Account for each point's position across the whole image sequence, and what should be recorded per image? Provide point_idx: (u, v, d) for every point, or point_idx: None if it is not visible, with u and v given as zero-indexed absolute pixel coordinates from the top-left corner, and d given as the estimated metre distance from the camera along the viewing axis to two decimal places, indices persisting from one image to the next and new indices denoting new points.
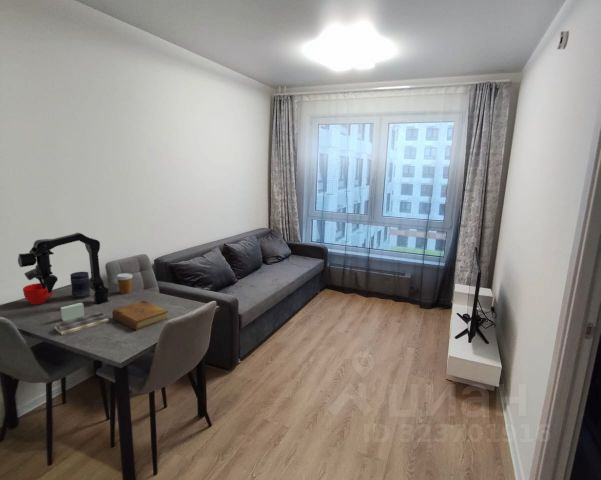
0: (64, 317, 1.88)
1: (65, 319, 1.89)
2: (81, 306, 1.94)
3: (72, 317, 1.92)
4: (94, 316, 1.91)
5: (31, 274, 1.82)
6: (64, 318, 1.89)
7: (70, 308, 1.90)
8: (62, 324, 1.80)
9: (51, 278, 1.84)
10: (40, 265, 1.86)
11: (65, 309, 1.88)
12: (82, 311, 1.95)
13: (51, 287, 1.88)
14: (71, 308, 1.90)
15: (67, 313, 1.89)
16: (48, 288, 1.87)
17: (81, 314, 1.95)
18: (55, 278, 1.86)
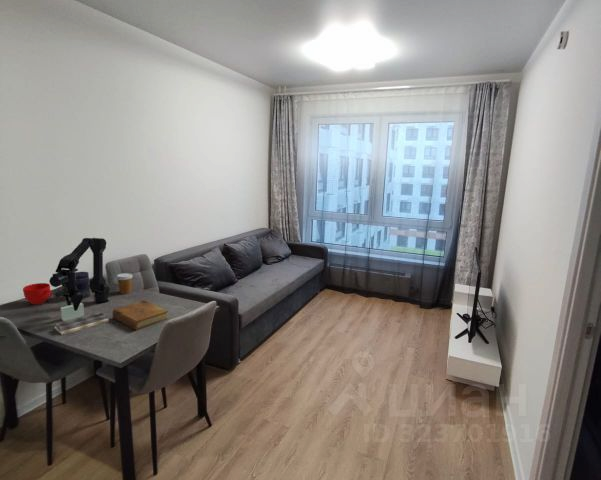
0: (64, 317, 1.88)
1: (65, 319, 1.89)
2: (81, 306, 1.94)
3: (72, 317, 1.92)
4: (94, 316, 1.91)
5: (58, 292, 1.82)
6: (64, 318, 1.89)
7: (70, 308, 1.90)
8: (62, 324, 1.80)
9: (78, 296, 1.85)
10: (67, 283, 1.86)
11: (65, 309, 1.88)
12: (82, 311, 1.95)
13: (77, 305, 1.89)
14: (71, 308, 1.90)
15: (67, 313, 1.89)
16: (74, 306, 1.88)
17: (81, 314, 1.95)
18: (82, 296, 1.86)
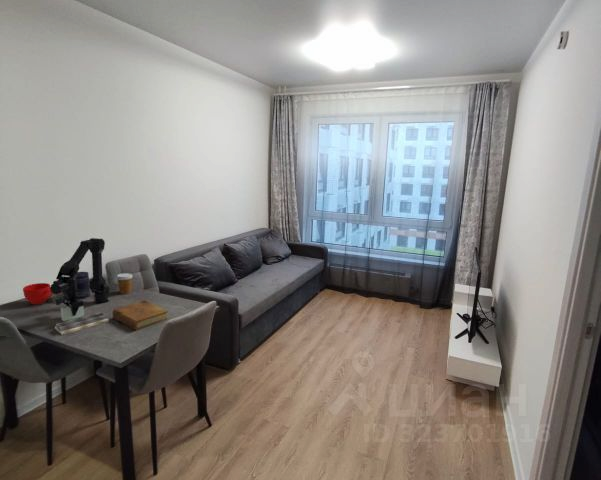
0: (64, 317, 1.88)
1: (65, 319, 1.89)
2: (81, 306, 1.94)
3: (72, 317, 1.91)
4: (94, 316, 1.91)
5: (59, 299, 1.83)
6: (64, 318, 1.88)
7: (70, 308, 1.90)
8: (62, 324, 1.80)
9: (78, 303, 1.86)
10: (67, 290, 1.87)
11: (65, 309, 1.88)
12: (82, 311, 1.95)
13: (76, 310, 1.91)
14: None
15: (67, 312, 1.89)
16: (73, 311, 1.90)
17: (81, 314, 1.95)
18: (82, 303, 1.87)
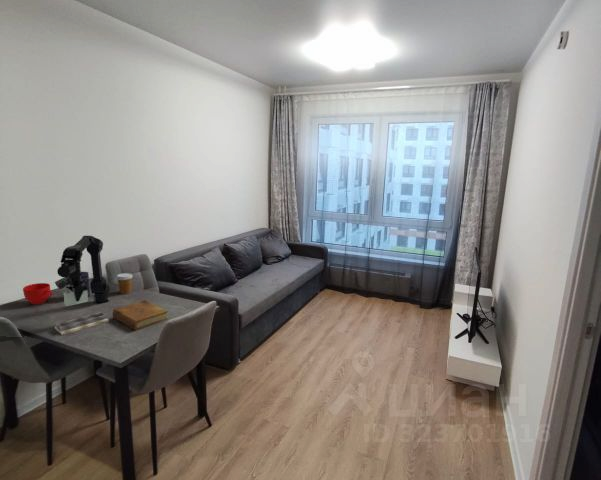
0: (67, 302, 1.81)
1: (68, 304, 1.81)
2: (85, 291, 1.86)
3: (75, 302, 1.84)
4: (94, 316, 1.91)
5: (62, 283, 1.75)
6: (67, 303, 1.81)
7: (73, 293, 1.82)
8: (62, 324, 1.80)
9: (82, 287, 1.78)
10: (71, 273, 1.80)
11: (68, 293, 1.80)
12: (86, 296, 1.87)
13: (79, 295, 1.83)
14: None
15: (71, 297, 1.82)
16: (76, 296, 1.82)
17: (85, 299, 1.87)
18: (86, 287, 1.79)
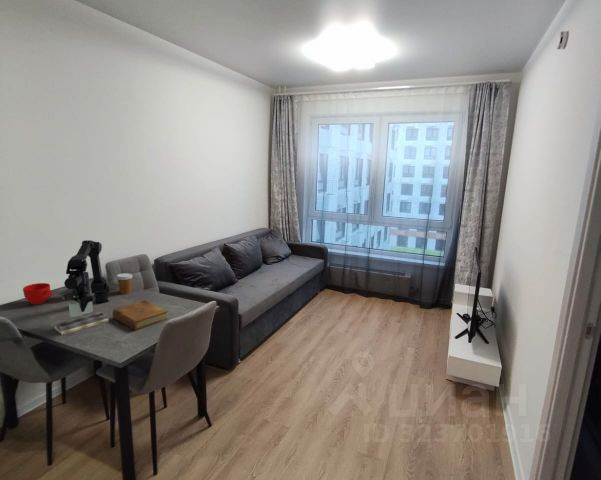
0: (72, 313, 1.79)
1: (73, 315, 1.80)
2: None
3: (81, 313, 1.82)
4: (94, 316, 1.91)
5: (67, 294, 1.74)
6: (72, 314, 1.79)
7: (78, 303, 1.81)
8: (62, 324, 1.80)
9: (88, 298, 1.77)
10: None
11: (73, 304, 1.79)
12: (91, 307, 1.86)
13: (84, 306, 1.82)
14: None
15: (76, 308, 1.80)
16: (82, 307, 1.81)
17: (90, 310, 1.86)
18: (92, 298, 1.78)
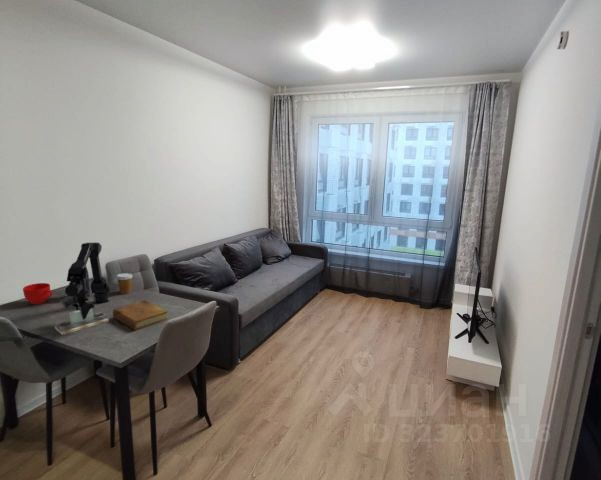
0: (73, 322, 1.80)
1: None
2: (91, 311, 1.86)
3: None
4: (94, 316, 1.91)
5: (68, 302, 1.74)
6: (73, 323, 1.80)
7: (79, 313, 1.82)
8: (62, 324, 1.80)
9: (88, 305, 1.77)
10: None
11: (74, 314, 1.80)
12: (92, 316, 1.87)
13: (86, 313, 1.82)
14: (80, 313, 1.82)
15: (77, 318, 1.81)
16: (83, 314, 1.81)
17: None
18: (92, 305, 1.79)
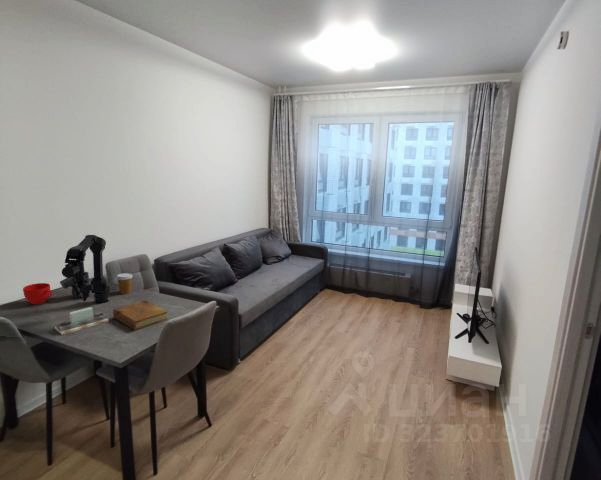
0: (73, 322, 1.80)
1: None
2: (91, 311, 1.86)
3: None
4: (94, 316, 1.91)
5: (67, 283, 1.80)
6: (73, 323, 1.80)
7: (79, 313, 1.82)
8: (62, 324, 1.80)
9: (87, 286, 1.83)
10: (75, 273, 1.84)
11: (74, 314, 1.80)
12: (92, 316, 1.87)
13: (86, 295, 1.87)
14: (80, 313, 1.82)
15: (77, 318, 1.81)
16: (83, 296, 1.86)
17: None
18: (91, 286, 1.85)
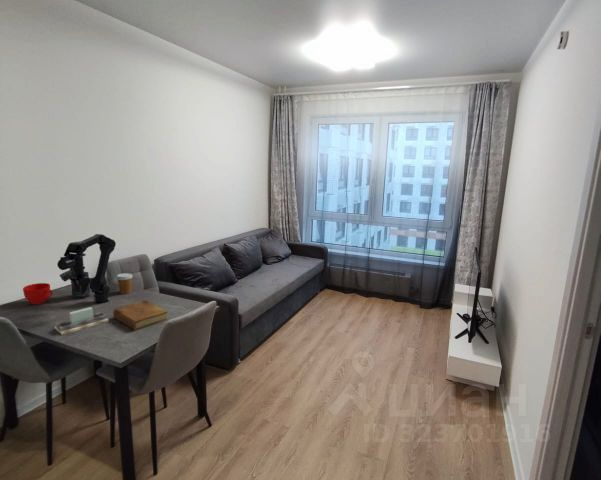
0: (73, 322, 1.80)
1: None
2: (91, 311, 1.86)
3: None
4: (94, 316, 1.91)
5: (67, 275, 1.88)
6: (73, 323, 1.80)
7: (79, 313, 1.82)
8: (62, 324, 1.80)
9: (85, 279, 1.91)
10: (75, 267, 1.93)
11: (74, 314, 1.80)
12: (92, 316, 1.87)
13: (85, 288, 1.95)
14: (80, 313, 1.82)
15: (77, 318, 1.81)
16: (82, 289, 1.94)
17: None
18: (89, 279, 1.93)
